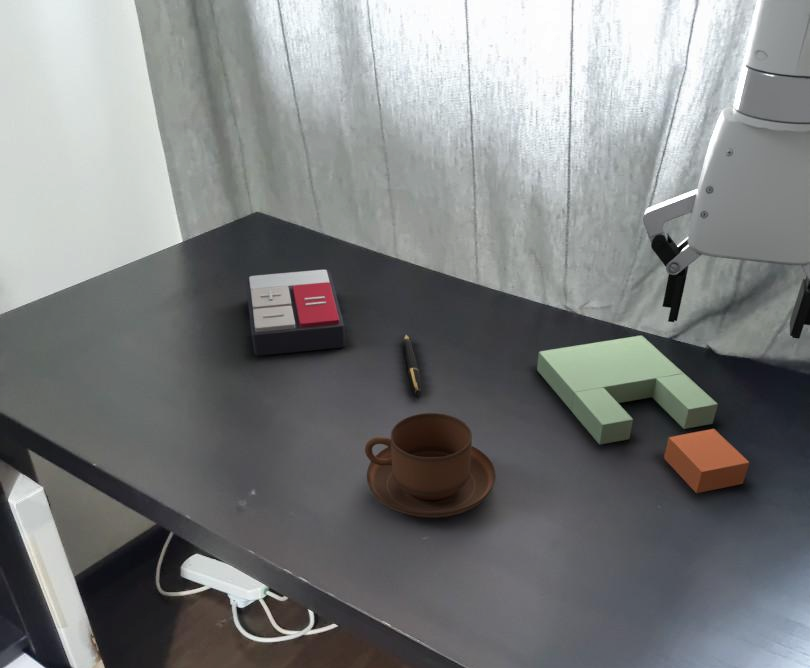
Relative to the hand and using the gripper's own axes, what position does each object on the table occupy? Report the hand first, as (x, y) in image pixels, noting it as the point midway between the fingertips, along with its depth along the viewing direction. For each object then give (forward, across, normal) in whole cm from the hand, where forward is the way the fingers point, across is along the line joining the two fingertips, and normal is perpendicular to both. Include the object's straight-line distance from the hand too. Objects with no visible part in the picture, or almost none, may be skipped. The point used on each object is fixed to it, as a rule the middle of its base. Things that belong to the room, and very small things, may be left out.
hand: (732, 323), depth 69 cm
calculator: (+16, +50, -18) cm, 56 cm away
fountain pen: (+16, +32, -12) cm, 38 cm away
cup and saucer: (+16, +23, +10) cm, 30 cm away
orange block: (+16, -1, -1) cm, 16 cm away
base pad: (+16, +9, -13) cm, 22 cm away
